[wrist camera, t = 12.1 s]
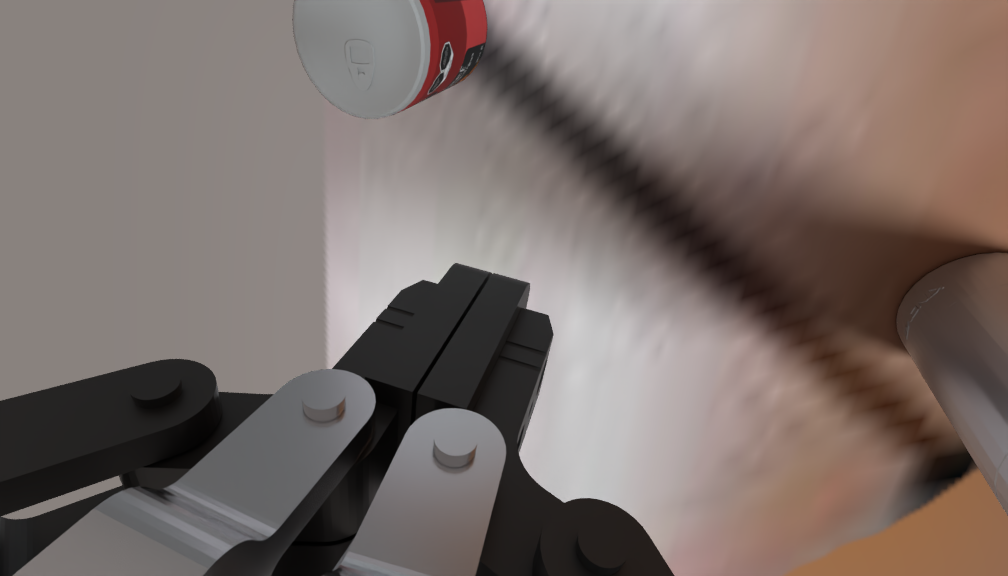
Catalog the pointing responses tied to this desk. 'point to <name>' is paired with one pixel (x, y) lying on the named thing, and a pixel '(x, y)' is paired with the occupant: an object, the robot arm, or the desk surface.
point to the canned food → (387, 50)
